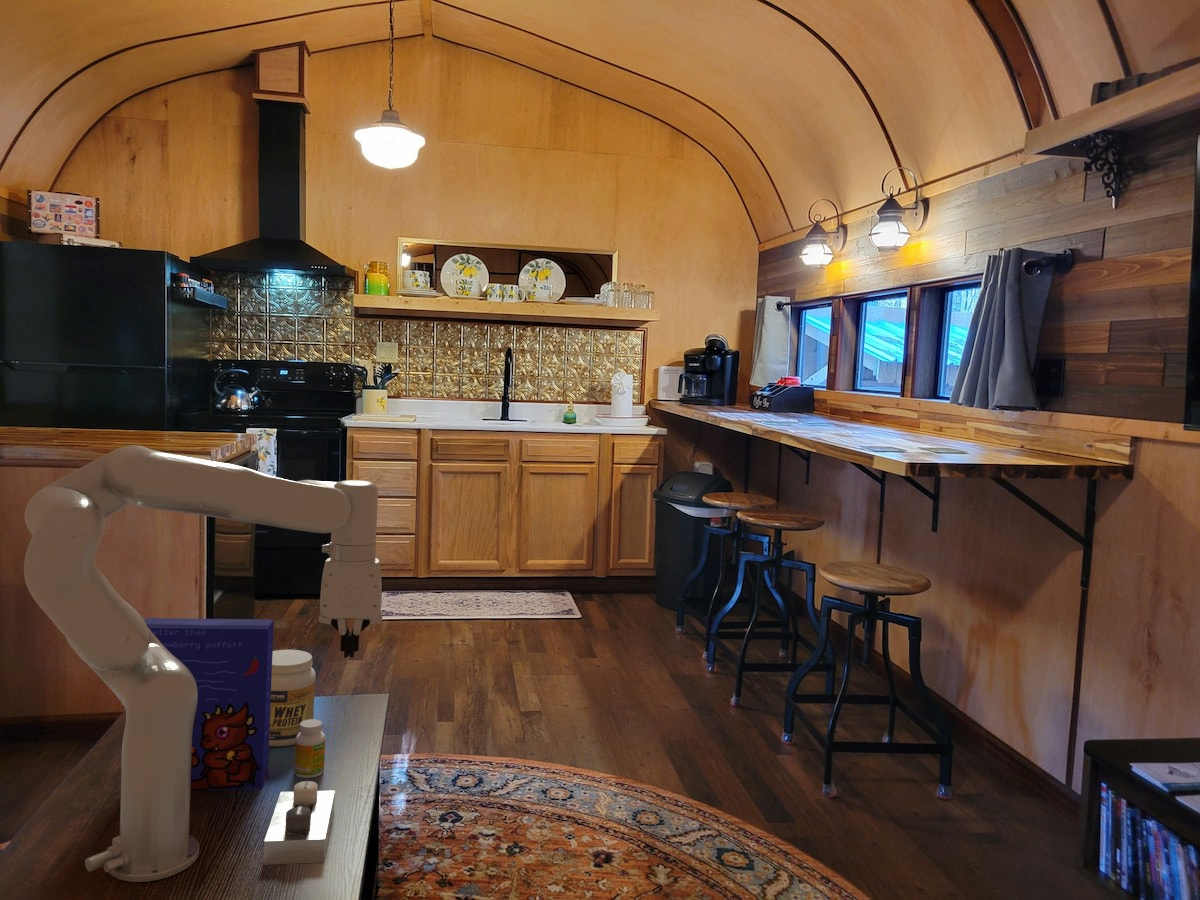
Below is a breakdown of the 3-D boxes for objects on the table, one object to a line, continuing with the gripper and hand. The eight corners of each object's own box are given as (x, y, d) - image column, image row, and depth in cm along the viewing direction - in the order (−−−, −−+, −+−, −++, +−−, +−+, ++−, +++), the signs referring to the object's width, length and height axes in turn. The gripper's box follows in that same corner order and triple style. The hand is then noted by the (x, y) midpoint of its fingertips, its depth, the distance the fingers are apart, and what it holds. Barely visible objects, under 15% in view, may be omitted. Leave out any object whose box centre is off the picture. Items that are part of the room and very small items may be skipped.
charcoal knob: (307, 857, 138) (309, 817, 137) (282, 858, 137) (284, 818, 136) (310, 844, 141) (312, 805, 141) (286, 845, 141) (288, 806, 140)
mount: (323, 862, 137) (324, 839, 136) (263, 864, 135) (264, 841, 134) (334, 811, 152) (334, 790, 152) (279, 813, 150) (280, 791, 150)
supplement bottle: (314, 780, 163) (316, 730, 162) (288, 776, 164) (290, 726, 163) (329, 768, 168) (331, 719, 167) (303, 764, 169) (305, 715, 168)
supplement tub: (255, 752, 173) (258, 669, 171) (246, 729, 183) (249, 650, 182) (319, 743, 179) (322, 662, 177) (306, 721, 189) (310, 645, 188)
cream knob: (314, 828, 146) (316, 790, 146) (290, 828, 146) (292, 791, 145) (317, 816, 150) (318, 780, 150) (294, 817, 149) (295, 780, 149)
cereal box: (267, 773, 164) (273, 618, 162) (261, 788, 158) (268, 627, 156) (142, 776, 160) (146, 616, 157) (131, 792, 154) (136, 626, 152)
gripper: (305, 555, 146) (301, 662, 147) (396, 557, 149) (392, 662, 150) (311, 546, 153) (307, 648, 155) (398, 548, 156) (394, 648, 158)
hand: (349, 654), depth 152 cm, fingers closed
